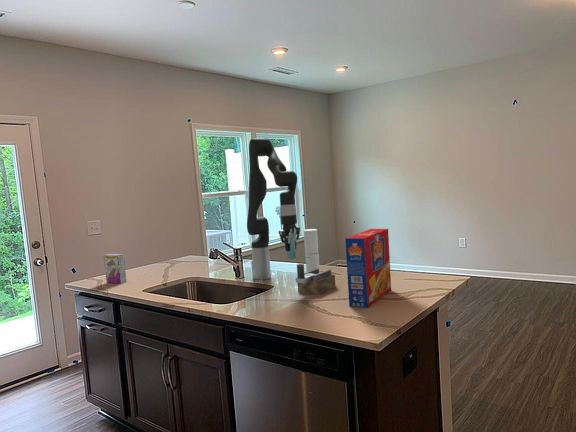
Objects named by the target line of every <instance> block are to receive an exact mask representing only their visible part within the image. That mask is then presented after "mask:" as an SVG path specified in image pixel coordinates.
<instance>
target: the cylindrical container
mask: <svg viewBox="0 0 576 432" xmlns="http://www.w3.org/2000/svg"><path fill="white" fill-rule="evenodd" d="M318 236H319V235H318V229H317V228H307V229H306V228H305V229H304V230H303V238H304V239H303V241H304V255H305V270H306V271H305V273H306V272H309V271H311V270H314V269H319V273H321V271H320V269H321V268H320V257H319V256H320V254H319V253H320V252H319V239H318V238H319V237H318Z"/></svg>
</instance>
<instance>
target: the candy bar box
mask: <svg viewBox="0 0 576 432" xmlns="http://www.w3.org/2000/svg"><path fill="white" fill-rule="evenodd" d="M124 255H125V254H124V253H121V254H119V253H108V254H104V255H103V263H104V270H105V271H104V272H105V280H106V283H107V284H116V285H117V284H118V285H120V284H124V283H127V273H126V264H125V262H126V261H125V256H124Z"/></svg>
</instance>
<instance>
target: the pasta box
mask: <svg viewBox="0 0 576 432" xmlns="http://www.w3.org/2000/svg"><path fill="white" fill-rule="evenodd" d="M389 239H390V238H389V228H370V229H369V228H368V229H366V230H364V231H362V232H359V233H356V234H353V235H350V236H347V237H345V240H344V241H345V254H346V256H345V257H346V274H347V285H348V286H347V288H348V305H349V306H348V307H351V308H353V307H354V308H361V307H362V308H361V309H369V308H370V307H372V306H373V305H374V304H376V303H377V302H378V301H379V300H381V299H382V298H383V297H385V296H386V295H387V294H388V293H390V292H391V291H392V281H391V262H390V261H391V259H390V240H389ZM389 291H390V292H389ZM385 294H386V295H385ZM384 295H385V296H384ZM381 297H382V298H381ZM380 298H381V299H380ZM376 301H377V302H376ZM372 304H373V305H372ZM371 305H372V306H371Z"/></svg>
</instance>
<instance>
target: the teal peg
mask: <svg viewBox="0 0 576 432" xmlns="http://www.w3.org/2000/svg"><path fill="white" fill-rule="evenodd" d="M287 237H288V236H287ZM287 239H288V238H287ZM286 255H287V256H286V257H287V259H288V260H293V259H296V258H297V255H296V249H295V238H294V233H291V238H290V251H286Z"/></svg>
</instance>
